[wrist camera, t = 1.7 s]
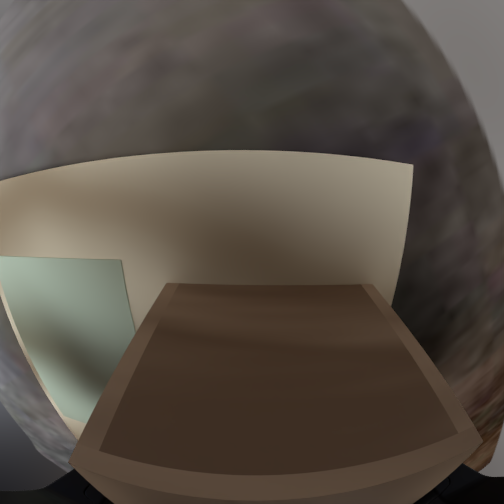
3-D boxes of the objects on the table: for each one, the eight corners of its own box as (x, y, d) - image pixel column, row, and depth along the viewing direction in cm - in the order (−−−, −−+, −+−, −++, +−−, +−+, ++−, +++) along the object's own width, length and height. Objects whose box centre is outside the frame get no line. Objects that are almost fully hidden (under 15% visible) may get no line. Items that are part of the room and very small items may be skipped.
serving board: (316, 471, 14) (318, 483, 13) (97, 450, 14) (93, 460, 13) (397, 162, 8) (414, 164, 7) (-6, 183, 8) (-22, 187, 7)
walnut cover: (325, 438, 11) (347, 560, 4) (197, 439, 11) (178, 565, 4) (372, 284, 8) (503, 482, 1) (166, 282, 8) (48, 511, 1)
